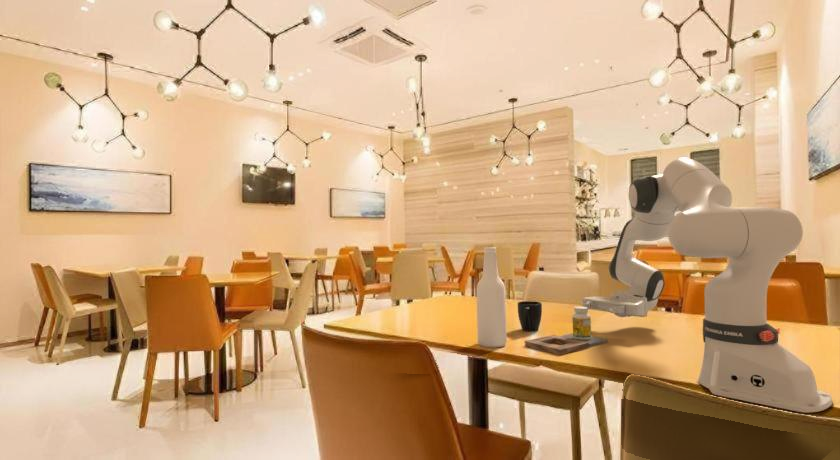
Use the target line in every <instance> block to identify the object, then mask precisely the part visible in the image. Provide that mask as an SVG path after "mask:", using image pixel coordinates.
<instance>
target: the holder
mask: <svg viewBox="0 0 840 460" xmlns="http://www.w3.org/2000/svg"><path fill="white" fill-rule="evenodd" d="M561 336H562V335H556V334H552V335H547V336H542V337H541V336H540V337H538V338H533V339H529V340H525V341H524V346H525V347H528V348H531V349H535V350H539V351H542V352H543V351H544V352H547V353H550V354H555V355H558V356H562V355H566V354H569V353H573V352H578V351H583V350H586V349H589V348H590V347H589V342H584V341H579V340H575V339H570V338H566V337H561ZM556 344H558V345H556Z"/></svg>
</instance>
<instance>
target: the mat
mask: <svg viewBox="0 0 840 460" xmlns="http://www.w3.org/2000/svg"><path fill="white" fill-rule="evenodd" d="M560 336H561V337H566V338H570V339H575V338H574V337H573V332H572V333H569V334H565V335H560ZM575 340H579V339H575ZM579 341H584V342H589V348H590V347H595V346H598V345H602V344H606V343H607V344H608V342H609V339H607V338H602V337H598V336H597V337H596V336H592V335H591V339H589V340H579Z"/></svg>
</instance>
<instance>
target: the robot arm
mask: <svg viewBox="0 0 840 460" xmlns="http://www.w3.org/2000/svg"><path fill="white" fill-rule="evenodd" d="M627 197H628V201H629V204H630V206H631V208H632V209H633V211H635V214H634V218H631V219H629V220H628V221H627V222H626V223H625V224H624V226H623V228H622V230H621V233H620V236H619V239H618V243H617V245H616V249H615V252H614V255H613V257H612V259H611V261H610V262H609V265H608V271H609V275H610V277H611V278H612V279H613V280H614V281H615V280H616V281H618V282H620V283H623V284H625V285H626V286H628V287H630V288H629V289H624V290H618V291H614V292H612V293H611V294H610V296H609V297H606V296H586V297H582V300H581V302H582V303H581V304H582V307H587V308H588V310H594V311H600V312H606V313H612V314H614V316H616V317H619V318H629V317H637V318H638V317H640V318H646V317H648V312H649V311H651V310H652V309H654V308H655V307H656V305H657V304H658V301H659V297H660V296H661V294H662V292H663V290H664V288H665V285H666V284H665V277H664V274H663V271H661V270H660V269H658V268H655V267H653V266H651V265H649V264H647V263H645V262H643V261H641V260H639V259H637V258H636V257H635V256H633V254H632V252H633V249H634V247H635V244H636V241H641V242H654V241H659V240H661V239H664V238H665V237H668V241H669V243H670V246H671V247H672V248H673V250H674V251H675V252H677V254H679V255H682V256H687V257H692V258H700V259H729V260H728V263H727V266H726V268H725V269H724V270H723V271H722V272H721V273H720V274H717V275H715V276H713V277H712V278H710V279H709V280H708V281H707V282H706V285H705V286H704V288H703V289H704V292H703V293H704V318H703V319H702V338H703V339H702V340H703V343H704V350H703V359H702V364H701V369H700V372H699V375H698V379H697V381H698V383H699V384H700V385H701V386H703V387H705V388H707V389H709V391H710V393H712V394H713V395H715V396H719V397H724V398H729V399H734V400H741V401H744V402H749V403H753V404H760V405H764V406H769V407H774V408H777V409H784V410H789V411H794V412H797V413H808V414H809V413H817V412H821V411H825V410H826V409H829V408H830V407H831V406H832V404H833V398H832V396H831V394H830V393H828V392H826V391H824V390H819V389H818V386H817V381H816V377H815V374H814V372H813V369H812V368H811V367H810V366H809V364H807V363H806V362H804V361H803V360H801V359H800V358H799V357H797V356H796V355H795V354H793V353H792V352H790V350H788V349H787V348H785V347H784V346H783V345H781V344H780V343H779V334H781V332H780V331H781V328H780V327H778V328H775V327H773V326H772V325H770V324H769V323H768V322H767V306H768V305H767V302H768V301H767V299H768V298H767V296H768V290H769V283H770V282H771V278H772V276H773V274H774V272H775V270H776V268H777V266H778V265H779V264H780V262H782V261H783V260H784V259H785V257H786V256H788V255H789V254H791V253H792V252H794V251H795V250H796V249H797V248H798V247H799V245H800V243H801V242H802V239H803V233H804V231H803V226H802V222H801V221H800V219H799V217H798V216H797V215H796V214H794V212H792V211H790V210H789V209H788V210H787V209H782V208H776V207H768V206H743V207H740V206H739V207H733V206H732V202H733V201H732V200H733V195H732V193H731V190H730V188H729V187H728V186H727V185H726V184H725V183H724V182H723V181H722V180H721V179H720V178H719V177H718V176H717V175H716V174H715V173H714V172H713V171H712V170H710V169H709V168H708V166H707V167H706V166H705V165H704V164H702V163H701V162H699V161H697V160H695V159H692V158H690V157H679V158H676V159H674V160H672V161H671V162H669V163H668V164H667V165H666V166H665V168H664V170H663V172H662V173H661V174H656V175H655V174H654V175H645V176H641V177H639V178H636V179H634V180H633V181H632V182H631V183H630V185H629V188H628V195H627ZM676 212H678V213H676Z"/></svg>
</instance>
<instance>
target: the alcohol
mask: <svg viewBox="0 0 840 460" xmlns="http://www.w3.org/2000/svg"><path fill="white" fill-rule="evenodd" d="M497 253H498V252H497V246H487V247H486V246H484V247H483V268H482V276H481V278H480V280H478V282H477V285H476V321H477V322H476V323H477V324H476V325H477V343H478V345H479V346H480V347H483V348H490V349H495V348H497V349H498V348H499V349H500V348H502V347H505V346H506V344H507V339H508V338H507V305H506V303H507V301H506V295H507V294H506V286H505V282H504V281H503V280H502V279H501V277H500V275H499V269H498V268H499V267H498V259H497V258H498V257H497Z"/></svg>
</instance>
